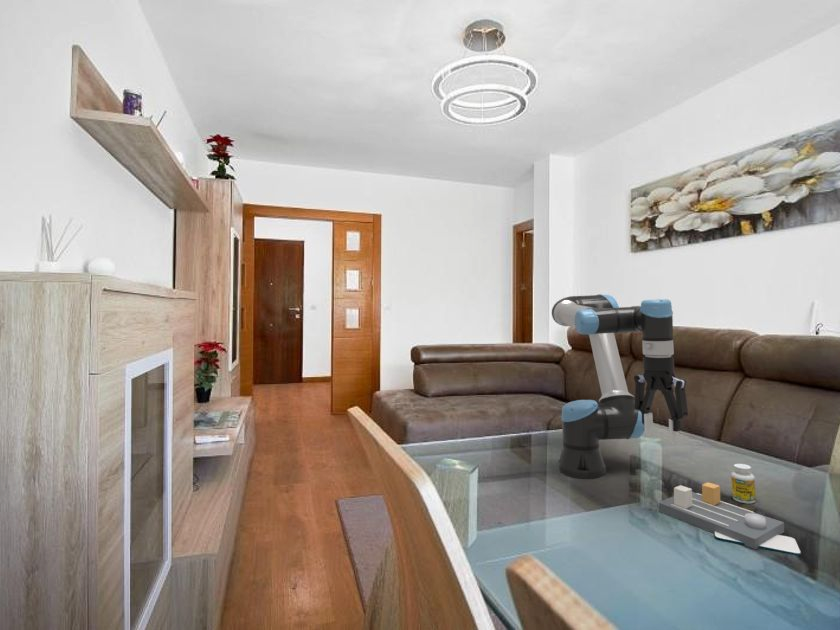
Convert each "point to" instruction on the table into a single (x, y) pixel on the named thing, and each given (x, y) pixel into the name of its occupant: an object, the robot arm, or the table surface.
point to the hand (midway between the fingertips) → (661, 439)
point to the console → (725, 520)
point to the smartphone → (769, 543)
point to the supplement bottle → (743, 484)
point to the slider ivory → (683, 497)
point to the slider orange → (711, 493)
